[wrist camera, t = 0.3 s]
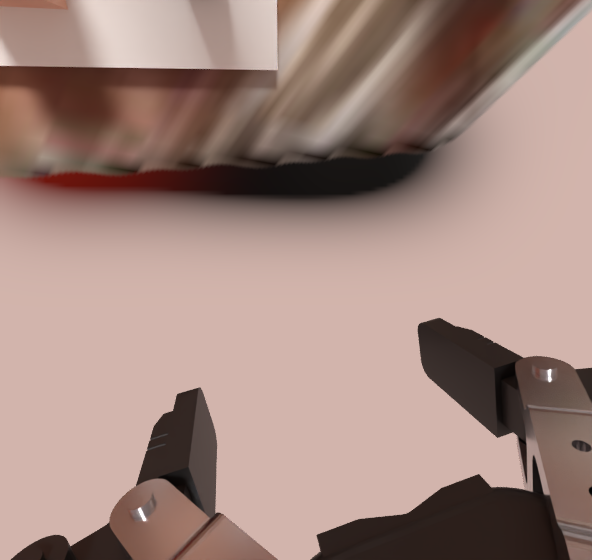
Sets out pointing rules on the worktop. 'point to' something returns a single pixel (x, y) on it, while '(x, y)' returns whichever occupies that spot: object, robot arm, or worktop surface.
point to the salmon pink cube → (35, 4)
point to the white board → (143, 34)
